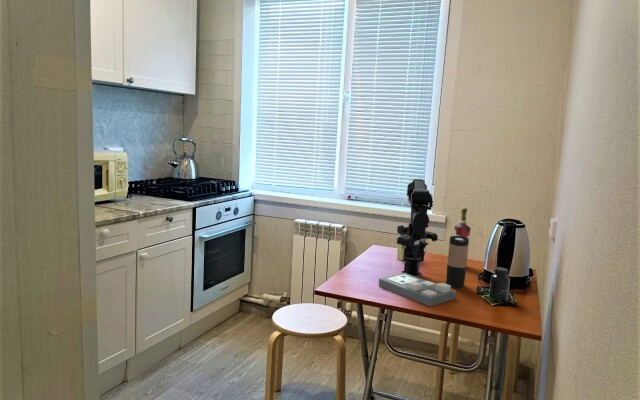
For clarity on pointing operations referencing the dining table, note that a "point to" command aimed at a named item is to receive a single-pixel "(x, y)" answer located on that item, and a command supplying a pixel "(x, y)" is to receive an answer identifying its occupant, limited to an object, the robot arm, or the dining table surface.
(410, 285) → the button
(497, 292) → the supplement bottle
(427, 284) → the button
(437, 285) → the button
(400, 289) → the button board
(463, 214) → the liquor
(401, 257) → the candy box
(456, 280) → the travel mug
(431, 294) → the button
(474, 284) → the dining table surface
